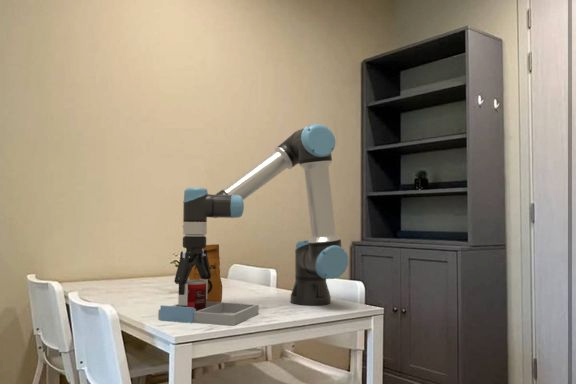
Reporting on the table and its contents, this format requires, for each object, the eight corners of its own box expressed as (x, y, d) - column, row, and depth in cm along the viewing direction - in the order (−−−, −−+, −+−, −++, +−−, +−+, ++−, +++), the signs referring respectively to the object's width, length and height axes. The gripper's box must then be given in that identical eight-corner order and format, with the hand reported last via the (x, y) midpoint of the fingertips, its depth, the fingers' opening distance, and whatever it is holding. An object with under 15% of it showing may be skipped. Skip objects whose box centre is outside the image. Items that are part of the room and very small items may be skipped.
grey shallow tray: (258, 314, 170) (258, 300, 171) (232, 326, 151) (232, 310, 151) (189, 309, 178) (190, 296, 178) (157, 320, 158) (157, 305, 159)
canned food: (182, 313, 170) (182, 279, 171) (206, 313, 171) (207, 279, 171) (178, 317, 162) (179, 282, 163) (204, 317, 163) (205, 282, 164)
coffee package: (221, 308, 181) (222, 244, 182) (185, 308, 180) (186, 244, 181) (222, 303, 191) (223, 243, 192) (188, 303, 190) (189, 243, 191)
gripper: (202, 234, 181) (200, 296, 180) (163, 236, 157) (162, 307, 156) (221, 234, 179) (220, 297, 177) (186, 236, 155) (184, 309, 154)
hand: (193, 302), depth 167 cm, fingers open, 13 cm apart
